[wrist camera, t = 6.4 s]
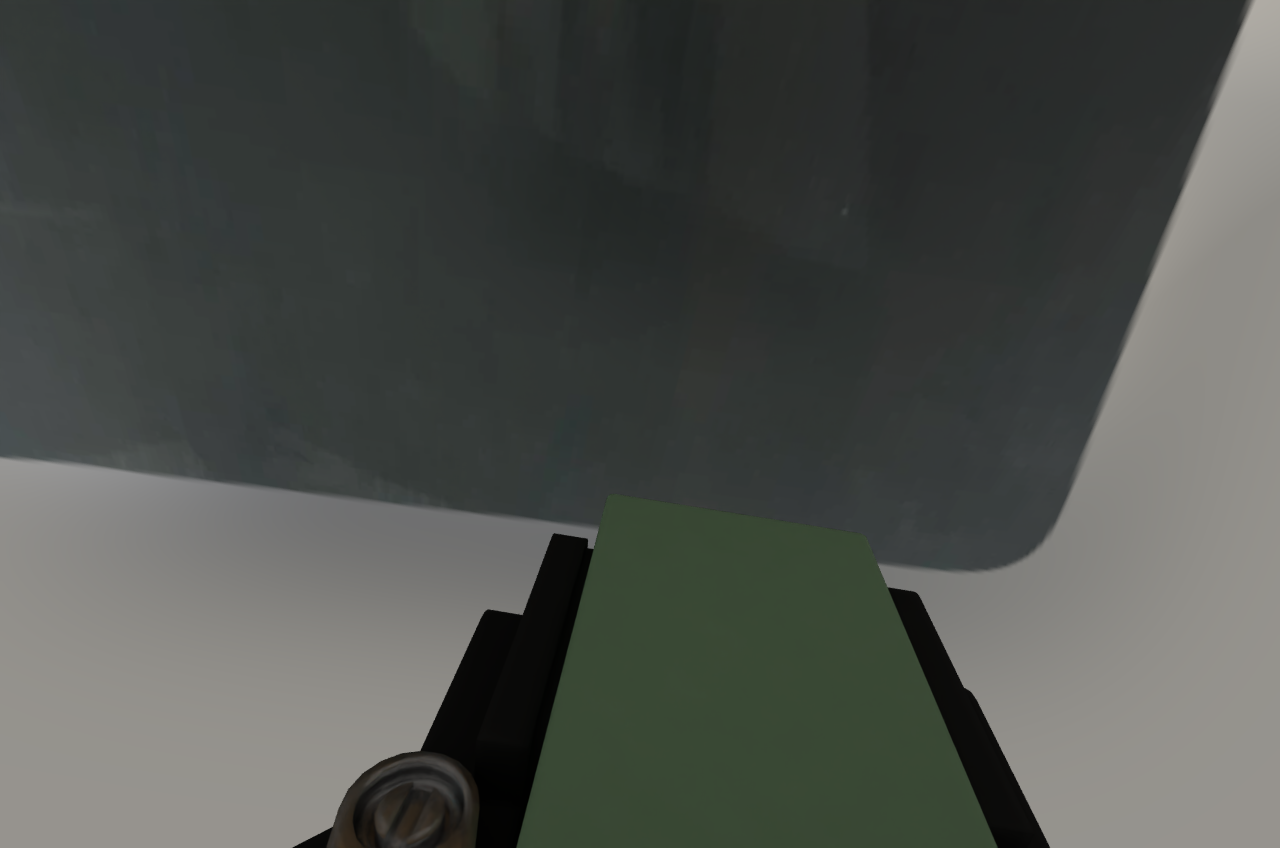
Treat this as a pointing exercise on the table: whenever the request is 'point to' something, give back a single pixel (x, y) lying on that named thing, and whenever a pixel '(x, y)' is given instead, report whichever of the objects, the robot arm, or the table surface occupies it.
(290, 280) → the table surface
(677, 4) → the table surface
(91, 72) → the table surface
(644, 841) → the green block
